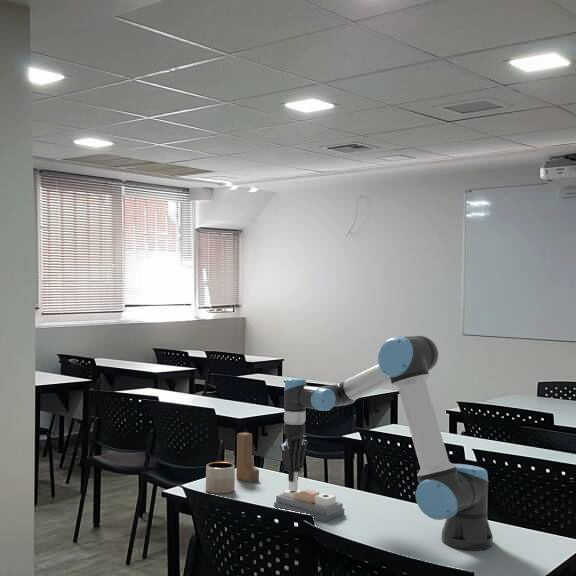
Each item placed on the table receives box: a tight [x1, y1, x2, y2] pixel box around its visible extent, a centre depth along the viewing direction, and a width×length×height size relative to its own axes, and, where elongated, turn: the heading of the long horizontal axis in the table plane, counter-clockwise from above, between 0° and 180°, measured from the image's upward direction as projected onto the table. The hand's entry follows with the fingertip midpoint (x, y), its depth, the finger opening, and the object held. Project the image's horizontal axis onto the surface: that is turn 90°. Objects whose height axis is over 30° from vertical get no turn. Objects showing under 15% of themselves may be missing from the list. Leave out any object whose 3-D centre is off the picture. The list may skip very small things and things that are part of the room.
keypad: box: [273, 493, 345, 523], centre depth 246 cm, size 22×11×4 cm, turn 50°
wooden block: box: [235, 431, 260, 483], centre depth 286 cm, size 9×4×18 cm, turn 44°
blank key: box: [299, 489, 320, 504], centre depth 246 cm, size 5×5×3 cm
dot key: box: [315, 492, 337, 508], centre depth 242 cm, size 5×5×3 cm
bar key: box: [282, 489, 302, 500], centre depth 251 cm, size 5×5×3 cm
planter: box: [205, 461, 236, 495], centre depth 270 cm, size 11×11×10 cm
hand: (293, 490), depth 251 cm, fingers closed
